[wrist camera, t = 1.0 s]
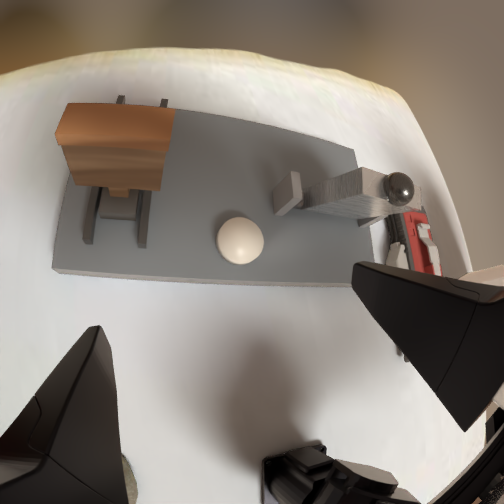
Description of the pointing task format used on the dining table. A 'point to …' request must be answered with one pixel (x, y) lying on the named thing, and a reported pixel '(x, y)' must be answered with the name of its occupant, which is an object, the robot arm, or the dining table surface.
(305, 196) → the light grey piece
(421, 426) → the dining table surface
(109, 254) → the control panel
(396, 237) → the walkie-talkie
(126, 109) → the walnut slider lever
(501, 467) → the robot arm
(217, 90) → the dining table surface
